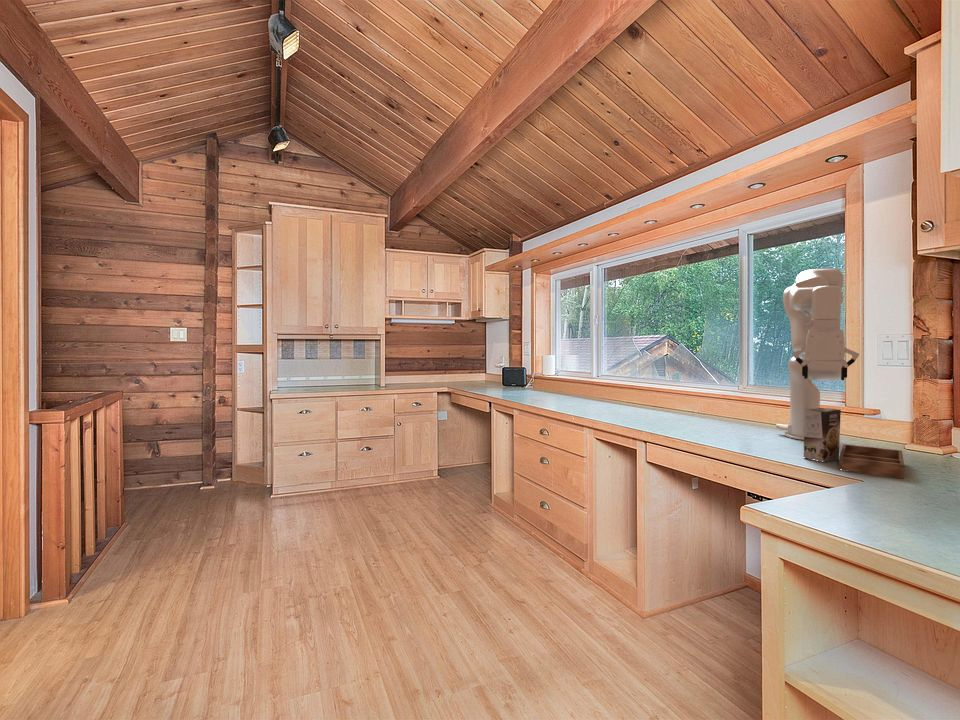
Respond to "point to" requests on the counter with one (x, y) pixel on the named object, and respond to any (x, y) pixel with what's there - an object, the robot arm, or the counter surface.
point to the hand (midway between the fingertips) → (824, 379)
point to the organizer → (872, 461)
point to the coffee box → (822, 434)
